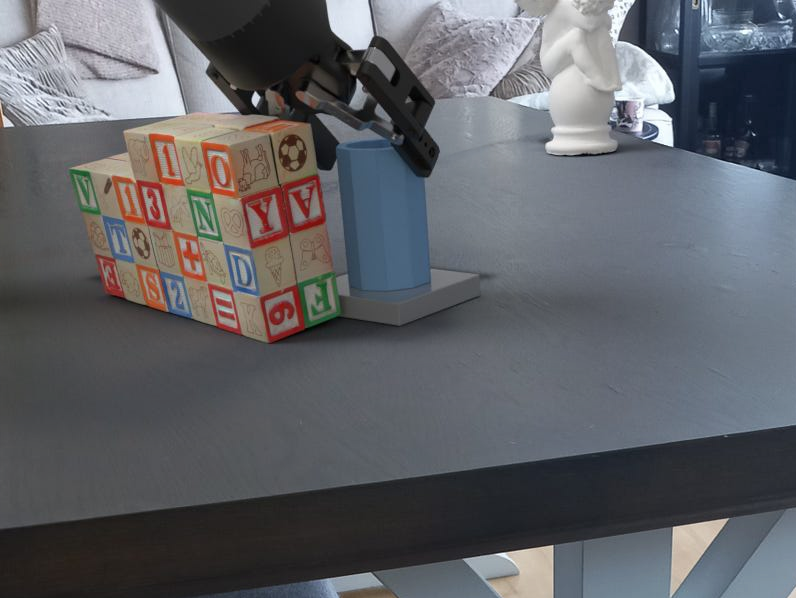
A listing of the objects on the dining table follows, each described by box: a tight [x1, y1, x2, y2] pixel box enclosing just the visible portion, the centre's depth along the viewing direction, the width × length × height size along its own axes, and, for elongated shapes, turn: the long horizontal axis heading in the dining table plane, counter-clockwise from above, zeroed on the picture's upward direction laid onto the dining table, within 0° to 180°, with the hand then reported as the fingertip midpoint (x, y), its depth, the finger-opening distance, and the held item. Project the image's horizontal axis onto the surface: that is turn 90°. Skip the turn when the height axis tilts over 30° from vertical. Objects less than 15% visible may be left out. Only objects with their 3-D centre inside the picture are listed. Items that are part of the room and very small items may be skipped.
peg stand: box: [336, 268, 481, 327], centre depth 83 cm, size 9×9×9 cm
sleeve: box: [336, 137, 431, 291], centre depth 82 cm, size 6×6×9 cm
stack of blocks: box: [68, 111, 341, 344], centre depth 82 cm, size 21×6×12 cm, turn 44°
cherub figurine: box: [513, 0, 623, 156], centre depth 140 cm, size 12×12×22 cm
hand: (379, 162), depth 81 cm, fingers open, 8 cm apart
